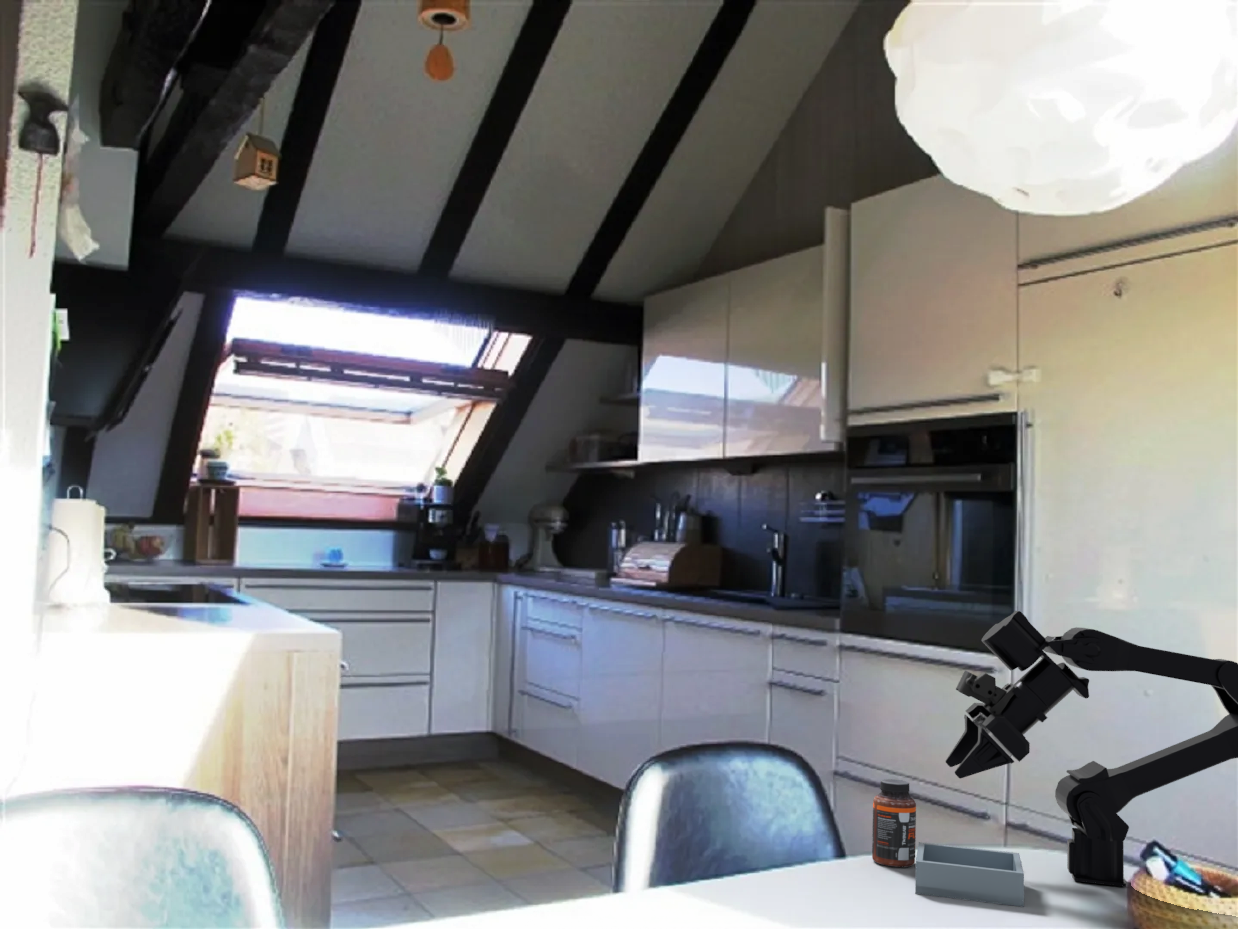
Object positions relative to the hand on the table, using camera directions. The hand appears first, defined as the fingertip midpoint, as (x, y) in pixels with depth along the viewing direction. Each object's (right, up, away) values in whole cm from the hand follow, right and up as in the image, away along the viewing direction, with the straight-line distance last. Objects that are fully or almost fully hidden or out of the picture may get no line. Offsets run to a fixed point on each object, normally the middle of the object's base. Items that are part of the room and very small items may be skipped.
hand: (952, 770), depth 154 cm
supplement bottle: (-8, -13, 0) cm, 16 cm away
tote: (-1, -12, -12) cm, 17 cm away
